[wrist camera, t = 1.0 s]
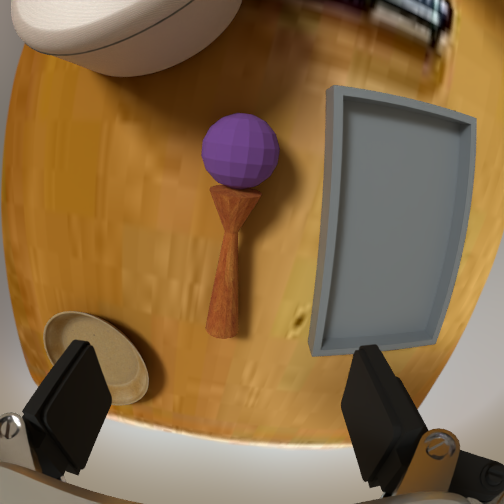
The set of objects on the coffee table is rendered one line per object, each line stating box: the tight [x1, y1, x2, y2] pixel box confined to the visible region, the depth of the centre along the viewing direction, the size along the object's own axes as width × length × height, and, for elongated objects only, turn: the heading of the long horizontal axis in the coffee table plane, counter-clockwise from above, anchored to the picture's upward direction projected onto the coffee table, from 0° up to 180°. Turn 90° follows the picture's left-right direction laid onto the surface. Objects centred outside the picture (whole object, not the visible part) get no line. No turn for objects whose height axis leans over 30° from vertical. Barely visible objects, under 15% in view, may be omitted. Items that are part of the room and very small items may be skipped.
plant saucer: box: [44, 311, 149, 405], centre depth 32 cm, size 15×15×3 cm
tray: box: [308, 85, 476, 356], centre depth 26 cm, size 26×16×3 cm, turn 179°
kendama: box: [202, 113, 280, 339], centre depth 25 cm, size 6×6×20 cm
